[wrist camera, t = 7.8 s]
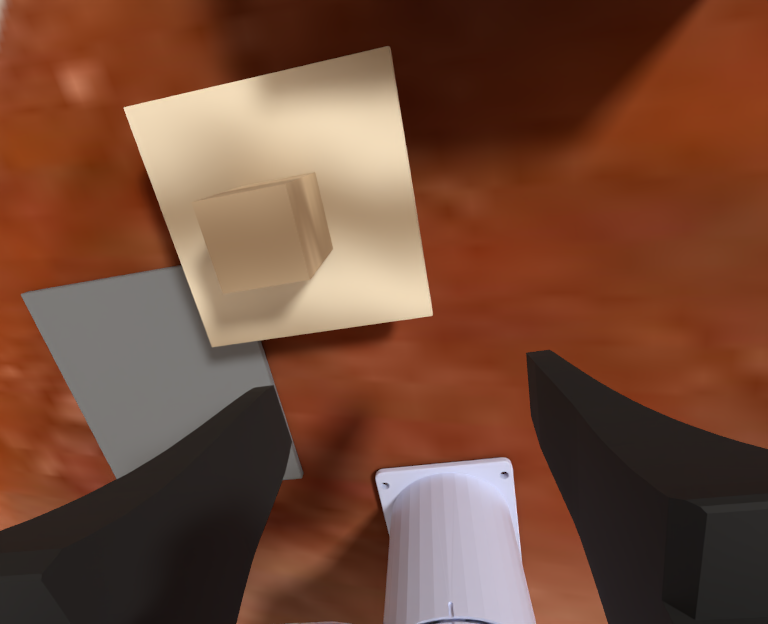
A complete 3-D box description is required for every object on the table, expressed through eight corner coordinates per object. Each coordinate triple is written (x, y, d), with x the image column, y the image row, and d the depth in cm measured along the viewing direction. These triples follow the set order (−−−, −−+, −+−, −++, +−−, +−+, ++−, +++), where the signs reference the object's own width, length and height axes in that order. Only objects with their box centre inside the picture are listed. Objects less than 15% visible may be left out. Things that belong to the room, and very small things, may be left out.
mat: (303, 473, 27) (301, 478, 27) (128, 490, 29) (125, 495, 29) (233, 256, 22) (230, 258, 22) (26, 292, 24) (20, 294, 24)
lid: (432, 308, 19) (435, 361, 15) (219, 339, 21) (164, 396, 16) (390, 49, 16) (378, 17, 11) (136, 108, 17) (36, 100, 13)
